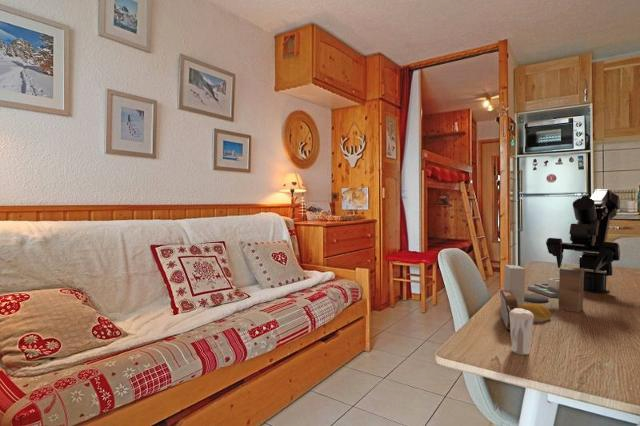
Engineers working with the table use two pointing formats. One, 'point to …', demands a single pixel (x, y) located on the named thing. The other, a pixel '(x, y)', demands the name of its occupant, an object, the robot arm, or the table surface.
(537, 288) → the switch board
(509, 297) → the tin
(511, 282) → the skincare box
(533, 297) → the coaster
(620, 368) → the table surface
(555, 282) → the switch tab
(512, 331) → the milkshake
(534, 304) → the bread roll
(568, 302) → the handle block
